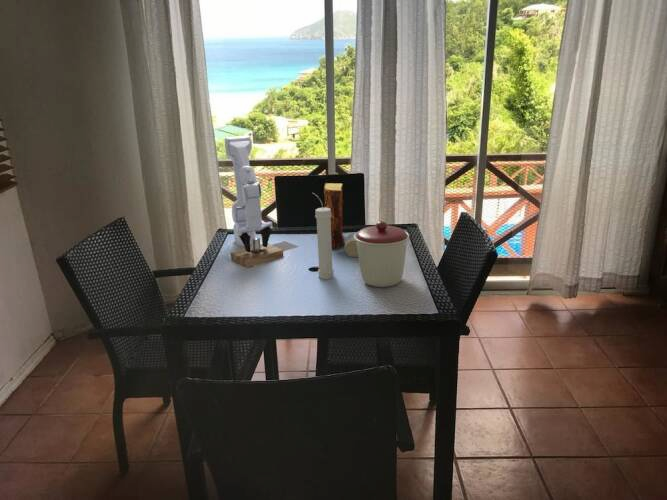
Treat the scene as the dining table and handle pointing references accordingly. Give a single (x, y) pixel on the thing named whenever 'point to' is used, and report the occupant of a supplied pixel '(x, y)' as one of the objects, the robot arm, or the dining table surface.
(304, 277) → the dining table surface
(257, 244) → the peg
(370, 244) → the canister
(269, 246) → the block
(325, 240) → the white tall cylinder
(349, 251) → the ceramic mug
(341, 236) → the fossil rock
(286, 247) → the mat
